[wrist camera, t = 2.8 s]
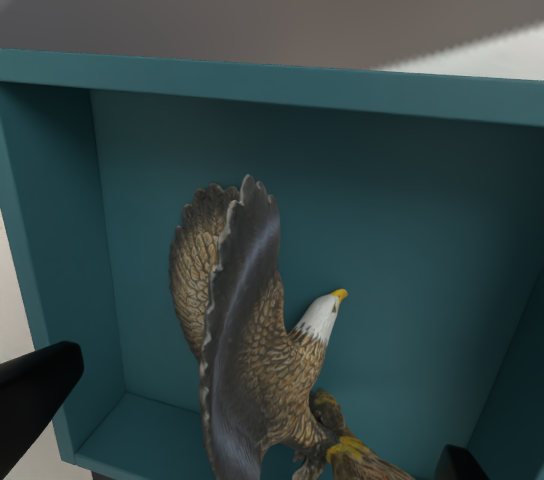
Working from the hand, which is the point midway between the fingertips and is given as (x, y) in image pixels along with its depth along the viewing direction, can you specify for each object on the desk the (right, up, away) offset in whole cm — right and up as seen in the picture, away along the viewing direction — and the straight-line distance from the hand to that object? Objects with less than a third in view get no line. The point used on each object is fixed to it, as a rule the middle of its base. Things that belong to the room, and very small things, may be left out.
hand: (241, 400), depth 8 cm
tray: (+1, +2, +4) cm, 5 cm away
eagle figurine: (+1, +2, +4) cm, 5 cm away
